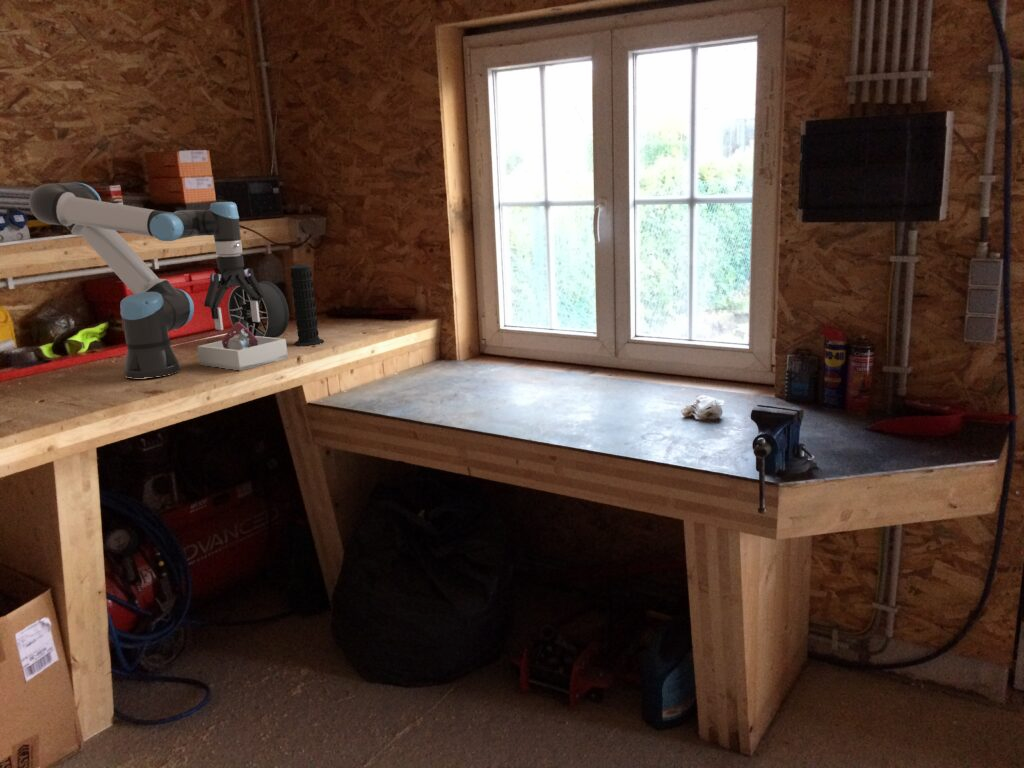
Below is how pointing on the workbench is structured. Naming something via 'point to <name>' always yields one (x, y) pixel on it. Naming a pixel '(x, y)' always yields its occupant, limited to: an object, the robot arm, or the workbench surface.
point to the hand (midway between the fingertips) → (238, 325)
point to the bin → (243, 354)
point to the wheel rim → (273, 306)
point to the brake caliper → (239, 338)
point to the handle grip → (304, 305)
